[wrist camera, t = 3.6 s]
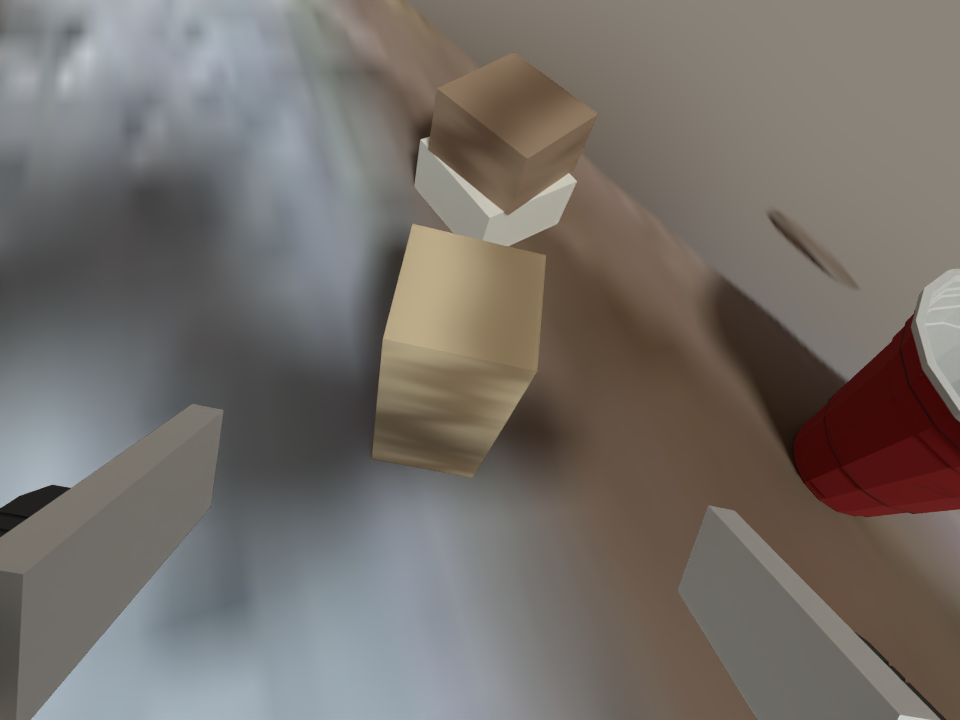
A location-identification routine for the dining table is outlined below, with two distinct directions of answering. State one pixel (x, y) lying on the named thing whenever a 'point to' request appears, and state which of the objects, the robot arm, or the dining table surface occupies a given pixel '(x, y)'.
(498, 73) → the walnut block
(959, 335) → the plastic cup
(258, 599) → the dining table surface
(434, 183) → the offwhite block
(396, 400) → the oak block
